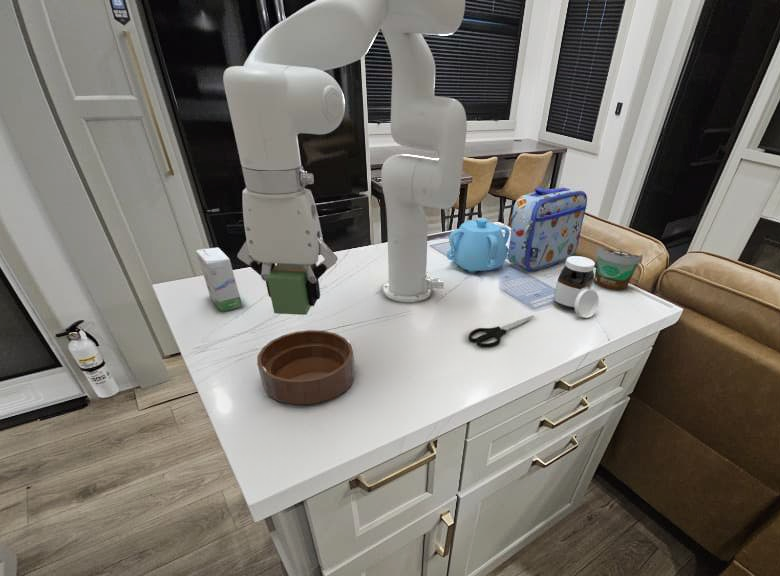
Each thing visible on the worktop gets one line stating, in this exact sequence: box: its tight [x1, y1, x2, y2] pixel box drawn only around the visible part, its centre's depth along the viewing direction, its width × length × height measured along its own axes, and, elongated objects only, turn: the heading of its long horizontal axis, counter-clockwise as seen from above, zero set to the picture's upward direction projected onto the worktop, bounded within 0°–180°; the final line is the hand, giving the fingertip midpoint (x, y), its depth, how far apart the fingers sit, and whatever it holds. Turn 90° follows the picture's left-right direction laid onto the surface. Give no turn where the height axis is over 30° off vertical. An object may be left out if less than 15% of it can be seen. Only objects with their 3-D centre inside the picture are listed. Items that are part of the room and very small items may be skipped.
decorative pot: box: [446, 217, 511, 274], centre depth 121 cm, size 16×16×14 cm
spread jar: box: [553, 255, 600, 319], centre depth 103 cm, size 12×11×12 cm
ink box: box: [195, 247, 244, 313], centre depth 94 cm, size 8×5×12 cm, turn 39°
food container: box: [593, 245, 644, 291], centre depth 115 cm, size 12×6×10 cm, turn 68°
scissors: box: [467, 315, 534, 349], centre depth 95 cm, size 7×1×20 cm
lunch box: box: [507, 187, 588, 272], centre depth 123 cm, size 28×10×22 cm, turn 133°
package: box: [267, 264, 312, 316], centre depth 66 cm, size 5×7×6 cm
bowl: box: [256, 329, 356, 405], centre depth 76 cm, size 16×16×6 cm
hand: (295, 300), depth 68 cm, fingers closed on package, 5 cm apart
